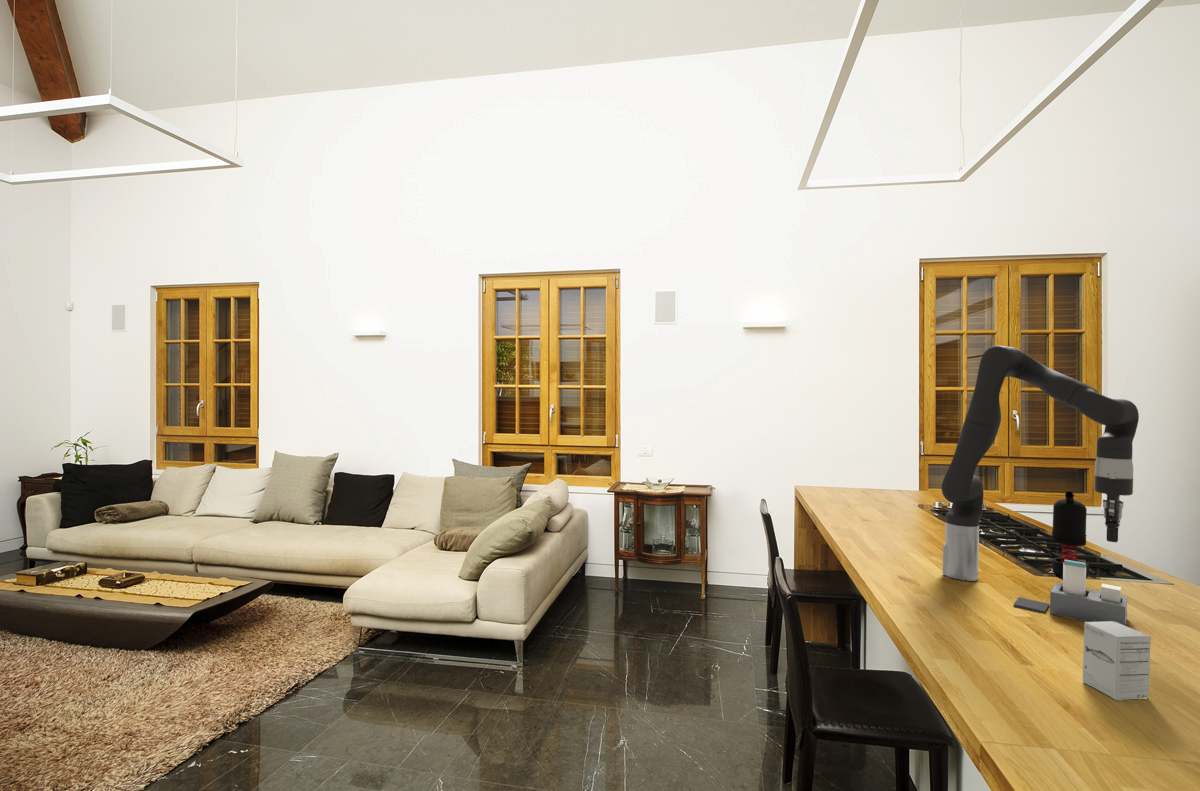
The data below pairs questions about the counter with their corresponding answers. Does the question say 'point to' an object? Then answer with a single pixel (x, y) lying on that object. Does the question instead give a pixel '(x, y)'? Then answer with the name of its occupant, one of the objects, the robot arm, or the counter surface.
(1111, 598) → the off-white cube
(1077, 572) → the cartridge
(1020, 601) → the mat
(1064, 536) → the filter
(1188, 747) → the counter surface
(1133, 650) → the supplement box
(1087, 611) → the housing
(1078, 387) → the robot arm
